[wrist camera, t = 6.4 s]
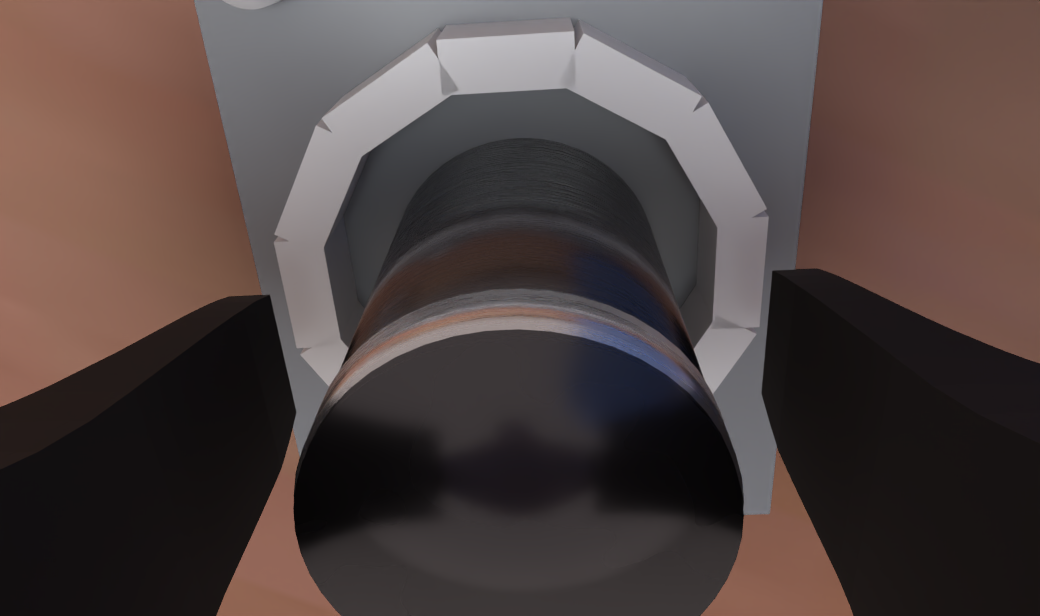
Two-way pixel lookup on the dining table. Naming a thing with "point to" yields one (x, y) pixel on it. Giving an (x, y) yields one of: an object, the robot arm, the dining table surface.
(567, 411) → the lens
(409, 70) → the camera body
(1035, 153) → the dining table surface
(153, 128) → the dining table surface
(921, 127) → the dining table surface
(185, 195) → the dining table surface
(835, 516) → the robot arm
